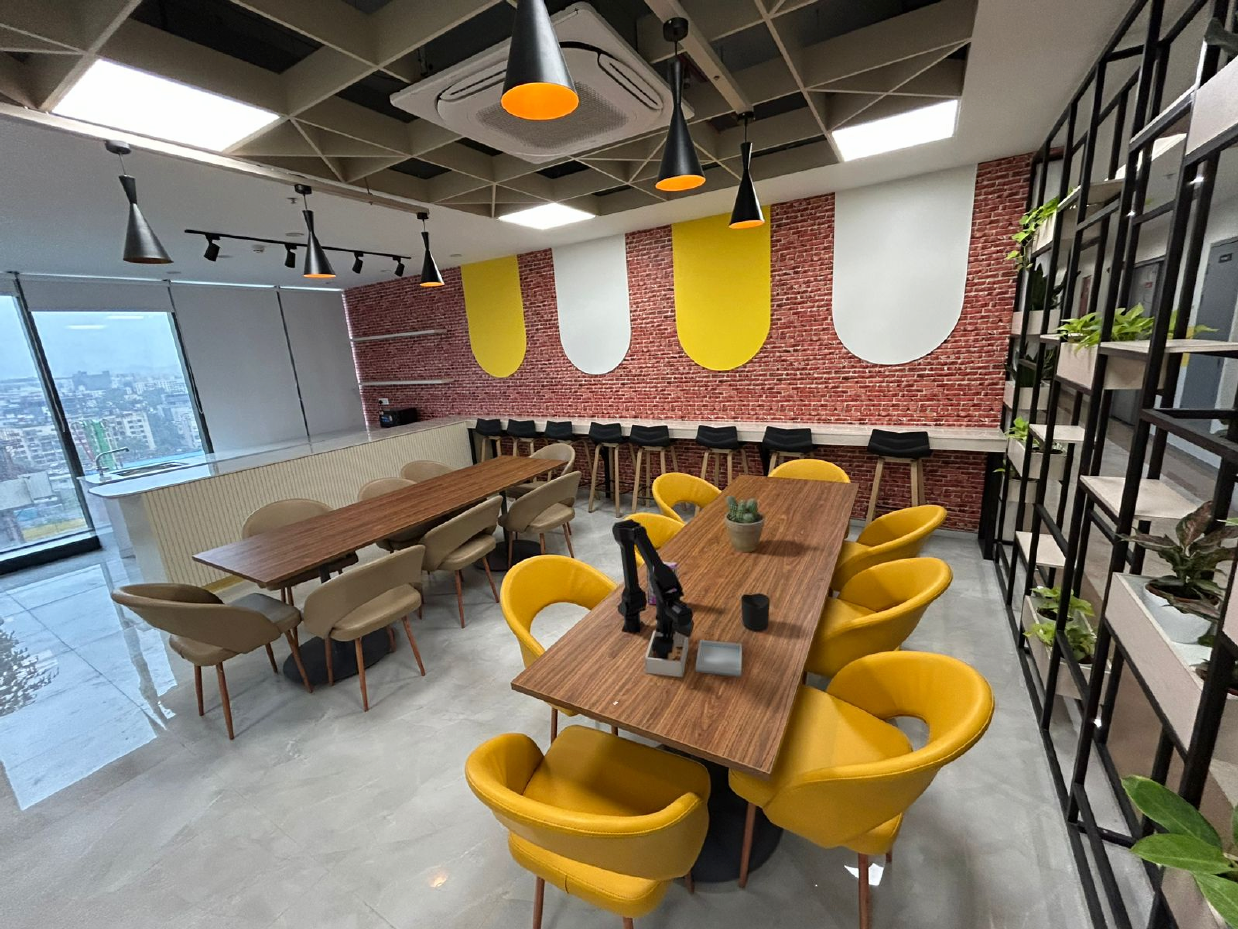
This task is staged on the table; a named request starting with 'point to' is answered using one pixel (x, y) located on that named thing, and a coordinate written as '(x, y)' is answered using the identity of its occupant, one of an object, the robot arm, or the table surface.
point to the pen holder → (755, 611)
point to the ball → (672, 654)
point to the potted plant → (744, 524)
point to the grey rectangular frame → (663, 664)
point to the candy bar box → (650, 594)
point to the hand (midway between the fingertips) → (667, 655)
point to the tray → (719, 658)
